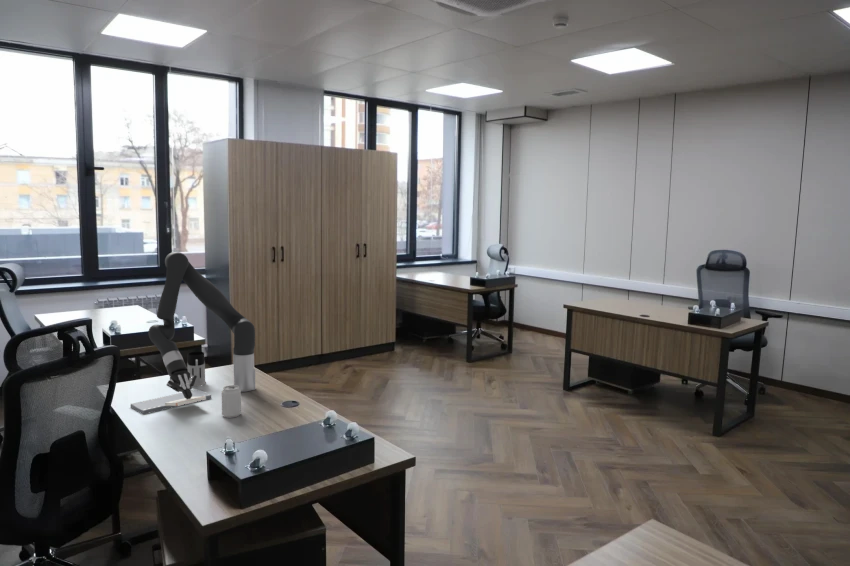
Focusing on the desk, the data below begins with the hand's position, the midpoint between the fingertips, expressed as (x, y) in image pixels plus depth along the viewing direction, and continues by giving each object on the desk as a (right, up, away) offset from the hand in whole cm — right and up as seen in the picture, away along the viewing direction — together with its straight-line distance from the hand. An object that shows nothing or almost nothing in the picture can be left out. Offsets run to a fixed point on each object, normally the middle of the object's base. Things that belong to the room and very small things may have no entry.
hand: (189, 398), depth 248 cm
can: (+18, -7, -3) cm, 20 cm away
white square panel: (-7, -3, +7) cm, 11 cm away
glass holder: (-11, -1, +37) cm, 38 cm away
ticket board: (-12, -4, +11) cm, 17 cm away
